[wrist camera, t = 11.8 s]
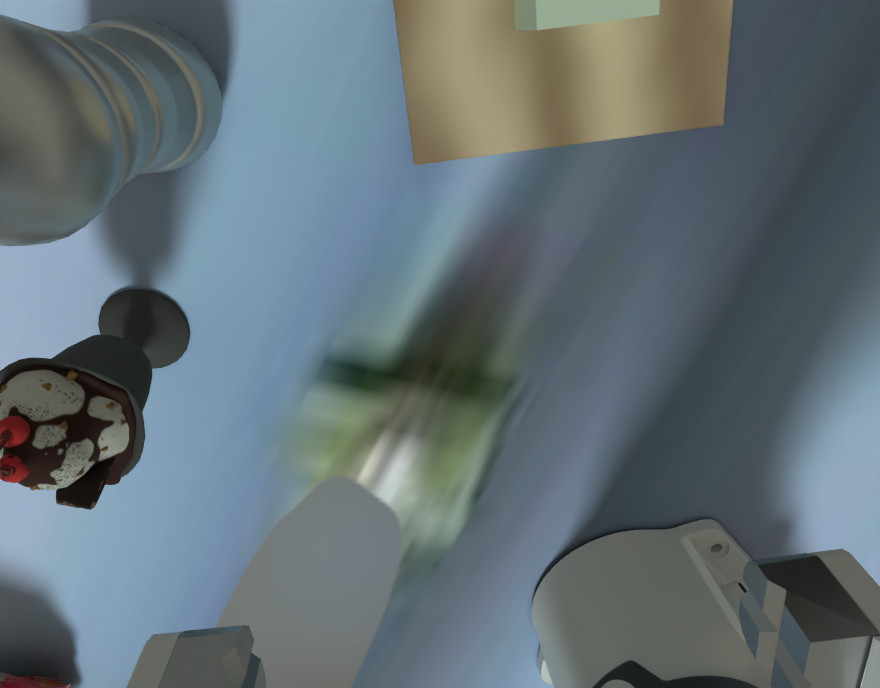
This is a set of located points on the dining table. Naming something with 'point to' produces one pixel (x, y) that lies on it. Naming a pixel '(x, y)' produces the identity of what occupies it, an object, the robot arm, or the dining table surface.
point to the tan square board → (556, 76)
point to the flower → (29, 682)
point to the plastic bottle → (94, 118)
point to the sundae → (88, 401)
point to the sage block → (577, 12)
